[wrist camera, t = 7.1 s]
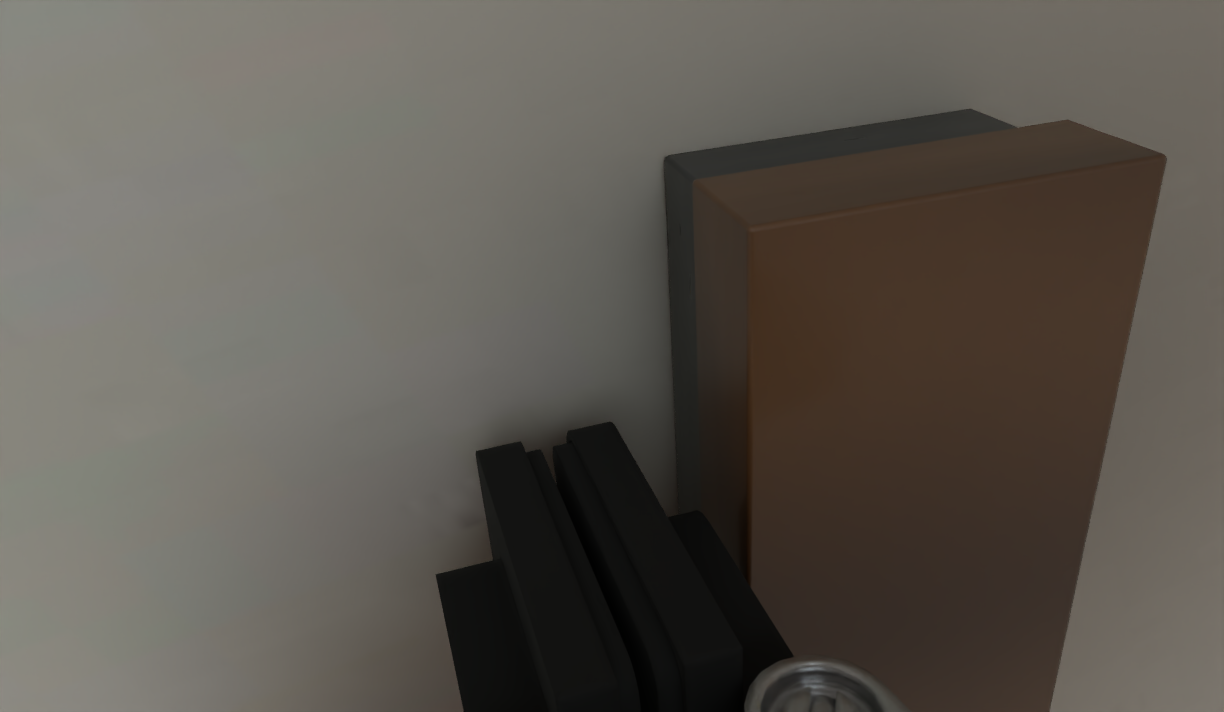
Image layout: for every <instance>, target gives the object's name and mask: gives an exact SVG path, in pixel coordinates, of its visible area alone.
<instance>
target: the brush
mask: <svg viewBox="0 0 1224 712" xmlns="http://www.w3.org/2000/svg"><path fill="white" fill-rule="evenodd" d="M1166 161H1167V158H1166V156H1165V155H1164V154H1162V153H1159V152H1156V151H1153V150H1150V149H1148V148H1145V147H1142V146H1139V145H1137V144H1134V143H1131V142H1128V141H1125V140H1123V139H1120V138H1117V137H1114V136H1112V135H1109V134H1106V133H1103V132H1101V131H1098V130H1095V129H1092V128H1089V127H1087V126H1084V125H1081V124H1078V123H1076V122H1073V121H1070V120H1063V121H1057V122H1050V123H1044V124H1038V125H1032V126H1025V127H1019V128H1018V127H1016V126H1013V125H1011V124H1008V123H1005V122H1003V121H1000V120H998V119H995V118H993V117H990V116H988V115H985V114H983V113H980V112H978V111H975V110H972V109H966V110H960V111H953V112H947V113H940V114H934V115H927V116H921V117H914V118H908V119H901V120H895V121H888V122H882V123H875V124H869V125H862V126H856V127H849V128H843V129H836V130H830V131H823V132H817V133H810V134H804V135H797V136H791V137H784V138H778V139H771V140H765V141H758V142H752V143H745V144H739V145H732V146H726V147H719V148H713V149H706V150H700V151H693V152H687V153H680V154H674V155H669V156H667V157H665V161H664V162H665V187H666V211H667V236H668V260H669V284H670V309H671V333H672V358H673V382H674V407H675V431H676V455H677V480H678V504H679V515H680V514H684V513H688V512H692V511H696V510H698V511H700V512H702V513H703V514H704V516H705V517H706V518H707V519H708V521H709V522H710V524H711V526H712V527H713V529H714V530H715V532H716V533H717V535H718V537H719V538H720V540H721V541H722V543H723V545H724V546H725V548H726V549H727V551H728V552H729V554H730V556H731V557H732V559H733V560H734V562H735V564H736V565H737V567H738V568H739V570H740V571H741V573H742V575H743V576H744V578H745V579H746V581H747V583H748V584H749V586H750V587H751V589H752V590H753V592H754V594H755V595H756V597H757V598H758V600H759V601H760V603H761V605H762V606H763V608H764V609H765V611H766V613H767V614H768V616H769V617H770V619H771V620H772V622H773V624H774V625H775V627H776V628H777V630H778V632H779V633H780V635H781V636H782V638H783V639H784V641H785V643H786V644H787V646H788V647H789V649H790V651H791V652H792V654H793V655H794V657H795V656H798V655H826V656H831V657H836V658H841V659H846V660H848V661H850V662H852V663H854V664H857V665H859V666H861V667H863V668H865V669H867V670H868V671H869V672H871V673H872V674H873V675H874V676H876V677H877V678H878V679H880V680H881V681H882V682H883V683H884V684H885V685H886V686H887V687H888V688H889V689H890V690H891V691H892V692H893V693H894V694H895V695H896V696H897V697H898V698H899V699H900V700H901V701H902V702H903V703H904V704H905V706H906V707H907V708H908V709H909V710H910V711H911V712H1049V711H1050V707H1051V702H1052V697H1053V692H1054V688H1055V683H1056V678H1057V674H1058V669H1059V664H1060V660H1061V655H1062V650H1063V645H1064V641H1065V636H1066V631H1067V627H1068V622H1069V617H1070V612H1071V608H1072V603H1073V598H1074V594H1075V589H1076V584H1077V580H1078V575H1079V570H1080V565H1081V561H1082V556H1083V551H1084V547H1085V542H1086V537H1087V533H1088V528H1089V523H1090V518H1091V514H1092V509H1093V504H1094V500H1095V495H1096V490H1097V486H1098V481H1099V476H1100V471H1101V467H1102V462H1103V457H1104V453H1105V448H1106V443H1107V438H1108V434H1109V429H1110V424H1111V420H1112V415H1113V410H1114V406H1115V401H1116V396H1117V391H1118V387H1119V382H1120V377H1121V373H1122V368H1123V363H1124V359H1125V354H1126V349H1127V344H1128V340H1129V335H1130V330H1131V326H1132V321H1133V316H1134V312H1135V307H1136V302H1137V297H1138V293H1139V288H1140V283H1141V279H1142V274H1143V269H1144V264H1145V260H1146V255H1147V250H1148V246H1149V241H1150V236H1151V232H1152V227H1153V222H1154V217H1155V213H1156V208H1157V203H1158V199H1159V194H1160V189H1161V185H1162V180H1163V175H1164V170H1165V166H1166Z"/></svg>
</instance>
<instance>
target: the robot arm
mask: <svg viewBox="0 0 1224 712" xmlns="http://www.w3.org/2000/svg"><path fill="white" fill-rule="evenodd" d="M566 440H567V443H566V444H562V445H557V446H553V462H554V470H555V478H556V483H555V481H554V478H553V476H552V474H551V471H550V469H549V467H548V464H547V462H546V460H545V457H544V455H543V453H542V451H541V450H540V449H539V450H535V451H530V452H525V449H524V447H523V445H522V443H521V442H515V443H511V444H506V445H502V446H497V447H493V448H488V449H484V450H479V451H476V460H477V466H478V473H479V478H480V484H481V490H482V496H483V502H484V508H485V514H486V520H487V526H488V532H489V538H490V544H491V550H492V556H493V561H489V562H484V563H480V564H476V565H472V566H468V567H464V568H460V569H456V570H452V571H448V572H444V573H440V574H436V578H437V583H438V588H439V593H440V598H441V603H442V608H443V612H444V617H445V622H446V627H447V632H448V637H449V642H450V646H451V651H452V656H453V661H454V666H455V671H456V676H457V680H458V685H459V690H460V695H461V700H462V705H463V709H464V712H911V711H910V710H909V709H908V708H907V707H906V706H905V704H904V703H903V702H902V701H901V700H900V699H899V698H898V697H897V696H896V695H895V694H894V693H893V692H892V691H891V690H890V689H889V688H888V687H887V686H886V685H885V684H884V683H883V682H882V681H881V680H880V679H878V678H877V677H876V676H874V675H873V674H872V673H871V672H869V671H868V670H867V669H865V668H863V667H861V666H859V665H857V664H854V663H852V662H850V661H848V660H846V659H841V658H836V657H831V656H826V655H798V656H795V657H794V655H793V654H792V652H791V651H790V649H789V647H788V646H787V644H786V643H785V641H784V639H783V638H782V636H781V635H780V633H779V632H778V630H777V628H776V627H775V625H774V624H773V622H772V620H771V619H770V617H769V616H768V614H767V613H766V611H765V609H764V608H763V606H762V605H761V603H760V601H759V600H758V598H757V597H756V595H755V594H754V592H753V590H752V589H751V587H750V586H749V584H748V583H747V581H746V579H745V578H744V576H743V575H742V573H741V571H740V570H739V568H738V567H737V565H736V564H735V562H734V560H733V559H732V557H731V556H730V554H729V552H728V551H727V549H726V548H725V546H724V545H723V543H722V541H721V540H720V538H719V537H718V535H717V533H716V532H715V530H714V529H713V527H712V526H711V524H710V522H709V521H708V519H707V518H706V517H705V516H704V514H703V513H702V512H700V511H698V510H696V511H692V512H688V513H684V514H680V515H676V516H671V517H667V515H666V514H665V512H664V510H663V508H662V507H661V505H660V503H659V502H658V500H657V498H656V496H655V495H654V493H653V491H652V489H651V488H650V486H649V484H648V482H647V481H646V479H645V477H644V475H643V474H642V472H641V470H640V468H639V467H638V465H637V463H636V461H635V460H634V458H633V456H632V454H631V453H630V451H629V449H628V447H627V446H626V444H625V442H624V441H623V439H622V437H621V435H620V434H619V432H618V430H617V428H616V427H615V425H614V424H613V423H612V422H606V423H602V424H597V425H593V426H588V427H584V428H579V429H575V430H570V431H568V432H567V437H566Z"/></svg>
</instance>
